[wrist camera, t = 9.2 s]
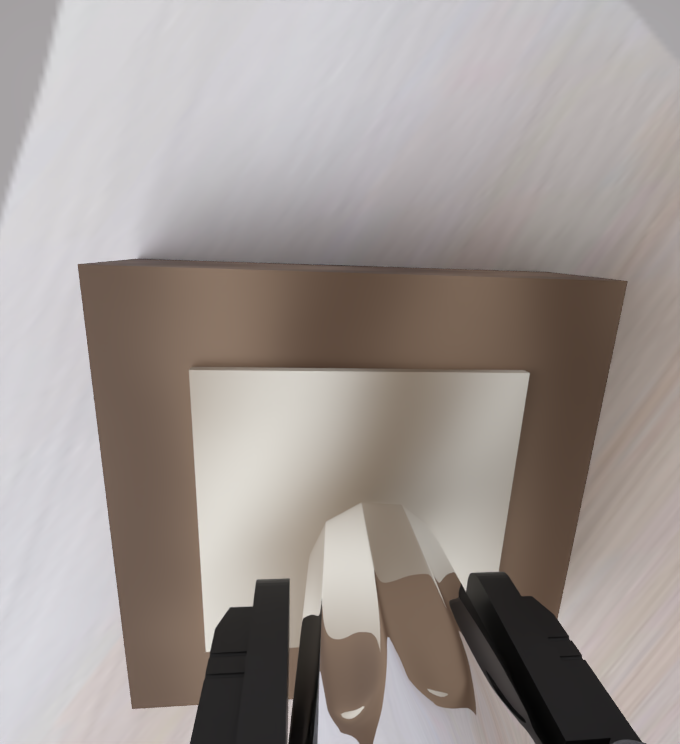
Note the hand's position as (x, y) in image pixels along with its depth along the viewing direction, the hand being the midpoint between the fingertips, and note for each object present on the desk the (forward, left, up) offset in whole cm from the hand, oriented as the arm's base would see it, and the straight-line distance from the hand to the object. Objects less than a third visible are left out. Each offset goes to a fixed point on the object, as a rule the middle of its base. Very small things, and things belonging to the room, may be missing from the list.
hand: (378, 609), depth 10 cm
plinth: (0, 0, -7) cm, 7 cm away
